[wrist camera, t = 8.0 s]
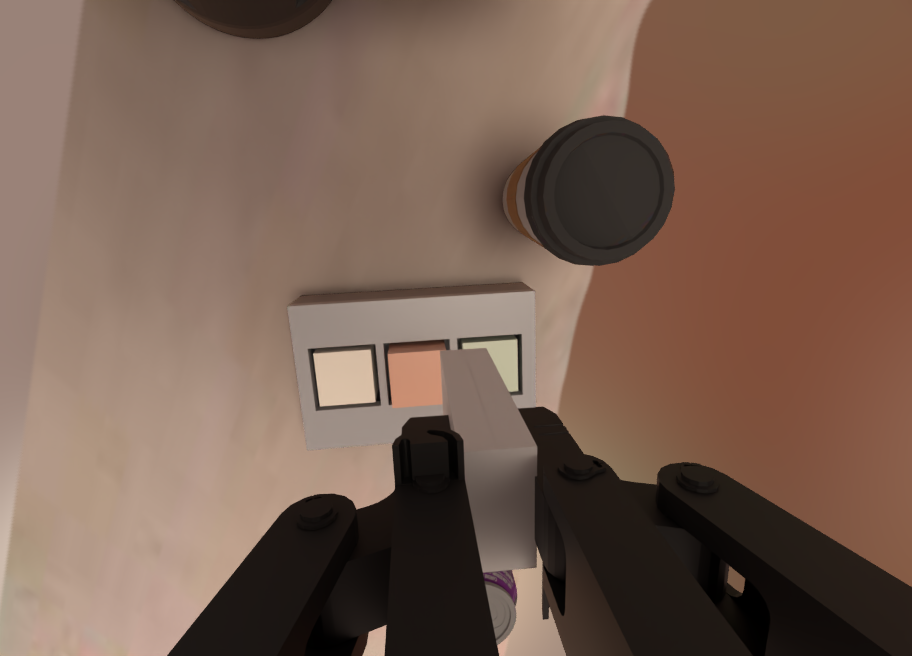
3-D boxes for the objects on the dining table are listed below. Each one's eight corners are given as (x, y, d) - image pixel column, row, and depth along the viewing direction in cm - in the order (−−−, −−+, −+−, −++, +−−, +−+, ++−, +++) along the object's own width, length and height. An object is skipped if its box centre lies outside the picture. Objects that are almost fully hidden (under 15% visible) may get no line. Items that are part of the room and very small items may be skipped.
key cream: (320, 343, 40) (313, 353, 37) (373, 339, 40) (370, 349, 37) (326, 392, 41) (319, 406, 38) (378, 388, 41) (375, 402, 38)
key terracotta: (389, 343, 39) (387, 354, 36) (443, 339, 39) (445, 349, 36) (393, 393, 40) (392, 408, 37) (446, 389, 40) (448, 403, 37)
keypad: (301, 295, 40) (287, 306, 36) (522, 282, 42) (535, 291, 37) (317, 425, 43) (306, 450, 39) (523, 409, 45) (536, 431, 40)
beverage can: (433, 556, 48) (439, 667, 36) (416, 495, 46) (417, 592, 34) (501, 538, 48) (530, 644, 36) (488, 478, 46) (513, 568, 34)
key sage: (458, 333, 40) (462, 343, 38) (510, 330, 41) (517, 339, 38) (461, 382, 42) (464, 395, 39) (510, 378, 42) (518, 391, 39)
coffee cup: (521, 267, 41) (580, 298, 27) (470, 182, 39) (504, 167, 25) (604, 213, 41) (708, 216, 26) (556, 125, 39) (642, 75, 24)
